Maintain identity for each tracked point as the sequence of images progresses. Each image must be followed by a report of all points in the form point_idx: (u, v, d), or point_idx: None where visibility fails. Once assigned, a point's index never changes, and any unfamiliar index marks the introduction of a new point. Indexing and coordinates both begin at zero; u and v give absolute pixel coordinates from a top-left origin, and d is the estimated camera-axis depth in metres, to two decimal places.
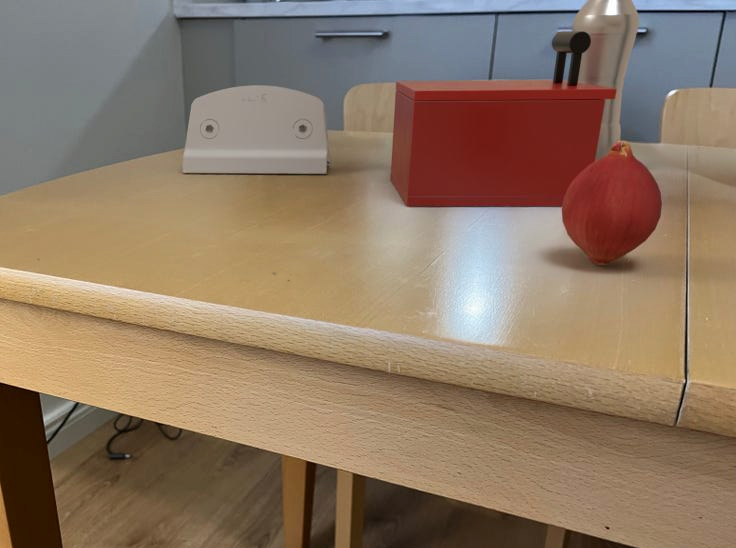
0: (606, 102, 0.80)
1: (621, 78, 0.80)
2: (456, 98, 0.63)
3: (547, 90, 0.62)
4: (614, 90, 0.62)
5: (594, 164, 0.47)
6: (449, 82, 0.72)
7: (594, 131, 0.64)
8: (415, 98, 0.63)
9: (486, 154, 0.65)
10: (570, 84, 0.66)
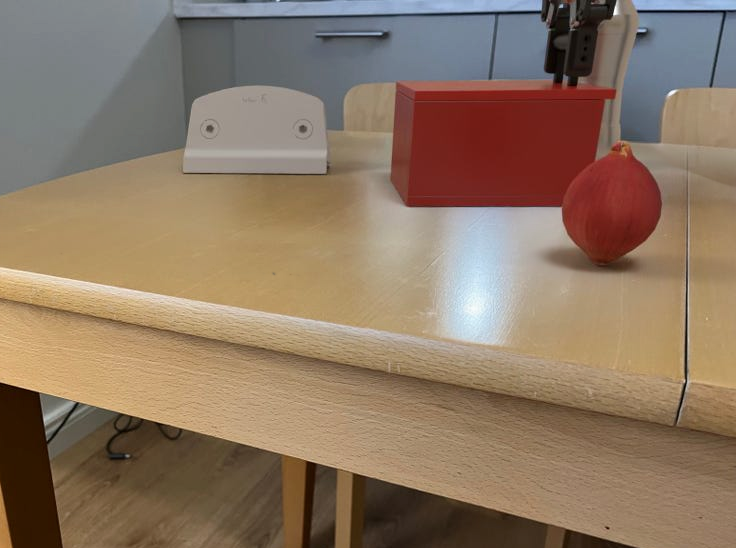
0: (606, 102, 0.80)
1: (621, 78, 0.80)
2: (456, 98, 0.63)
3: (547, 90, 0.62)
4: (614, 90, 0.62)
5: (594, 164, 0.47)
6: (449, 82, 0.72)
7: (594, 131, 0.64)
8: (415, 98, 0.63)
9: (486, 154, 0.65)
10: (570, 84, 0.66)
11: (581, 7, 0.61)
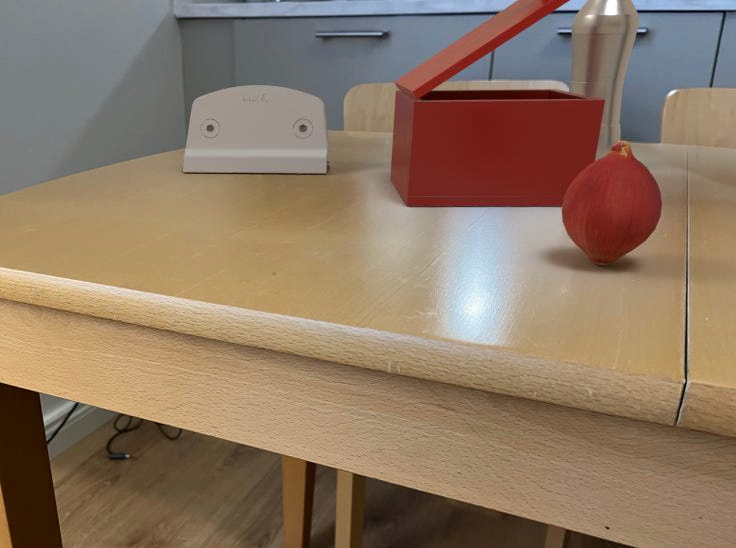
0: (606, 102, 0.80)
1: (621, 78, 0.80)
2: (453, 73, 0.62)
3: (533, 13, 0.60)
4: None
5: (594, 164, 0.47)
6: (441, 54, 0.71)
7: (594, 131, 0.64)
8: (416, 97, 0.63)
9: (486, 154, 0.65)
10: None
11: None
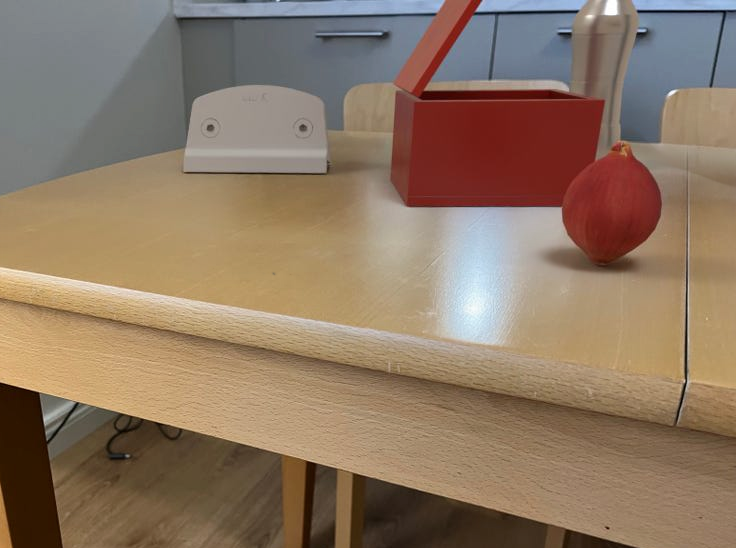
0: (606, 102, 0.80)
1: (621, 78, 0.80)
2: (442, 58, 0.62)
3: None
4: None
5: (594, 164, 0.47)
6: (425, 38, 0.71)
7: (594, 131, 0.64)
8: (417, 96, 0.63)
9: (486, 154, 0.65)
10: None
11: None
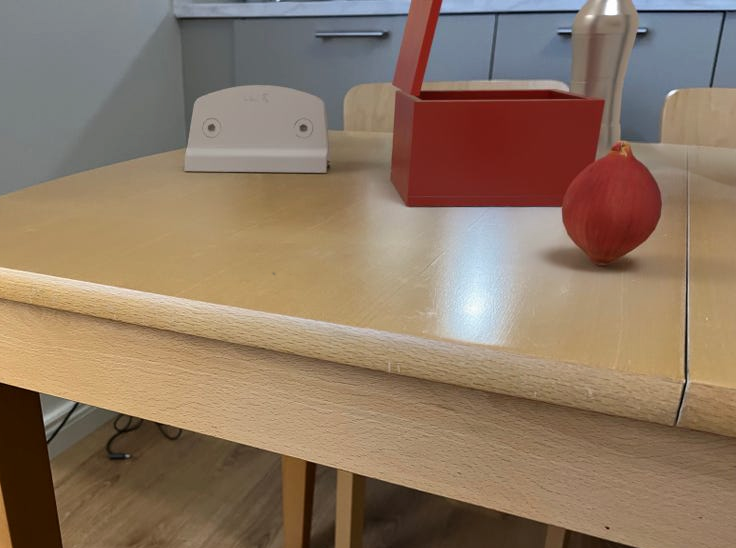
0: (606, 102, 0.80)
1: (621, 78, 0.80)
2: (428, 51, 0.62)
3: None
4: None
5: (594, 164, 0.47)
6: (407, 33, 0.71)
7: (594, 131, 0.64)
8: (417, 95, 0.63)
9: (486, 154, 0.65)
10: None
11: None
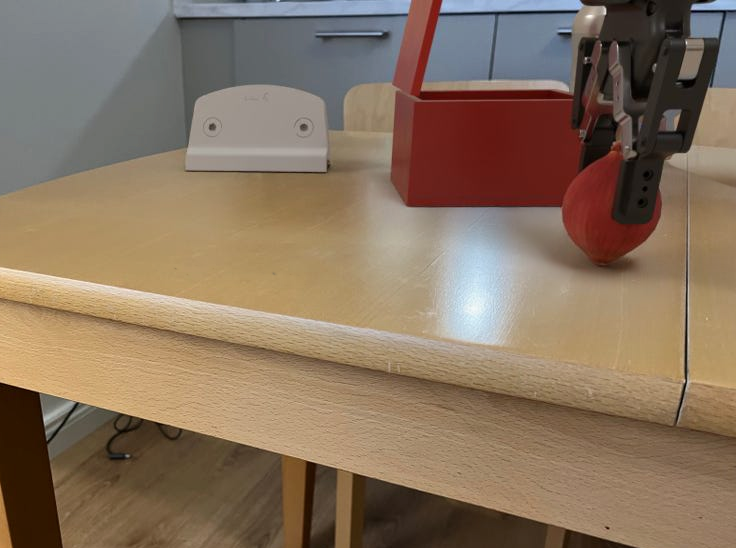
0: None
1: None
2: (428, 51, 0.62)
3: None
4: None
5: (594, 164, 0.47)
6: (407, 33, 0.71)
7: None
8: (417, 95, 0.63)
9: (486, 154, 0.65)
10: None
11: (642, 135, 0.41)
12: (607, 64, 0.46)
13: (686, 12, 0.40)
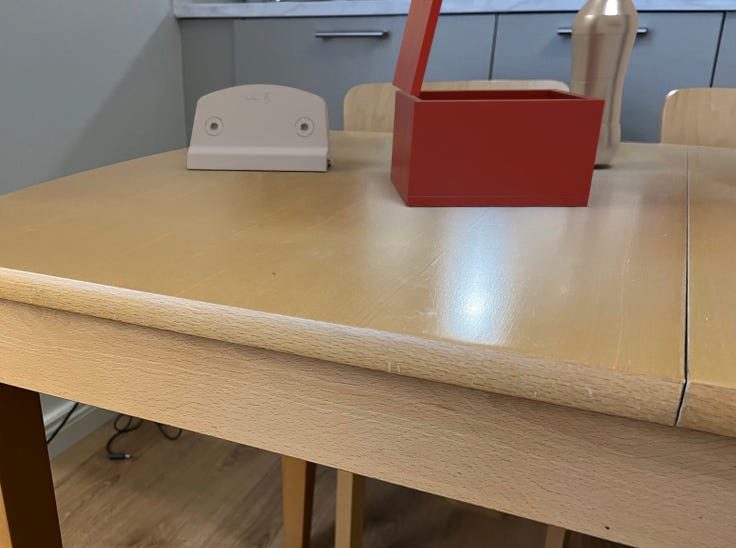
0: (606, 102, 0.80)
1: (621, 78, 0.80)
2: (428, 51, 0.62)
3: None
4: None
5: None
6: (407, 33, 0.71)
7: (594, 131, 0.64)
8: (417, 95, 0.63)
9: (486, 154, 0.65)
10: None
11: None
12: None
13: None
